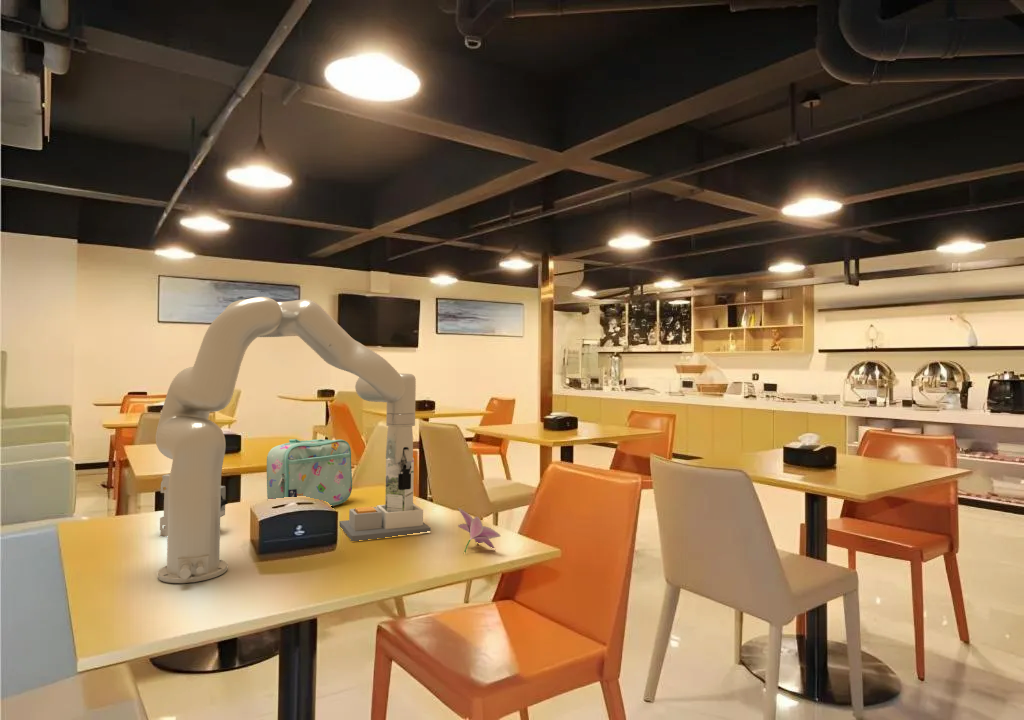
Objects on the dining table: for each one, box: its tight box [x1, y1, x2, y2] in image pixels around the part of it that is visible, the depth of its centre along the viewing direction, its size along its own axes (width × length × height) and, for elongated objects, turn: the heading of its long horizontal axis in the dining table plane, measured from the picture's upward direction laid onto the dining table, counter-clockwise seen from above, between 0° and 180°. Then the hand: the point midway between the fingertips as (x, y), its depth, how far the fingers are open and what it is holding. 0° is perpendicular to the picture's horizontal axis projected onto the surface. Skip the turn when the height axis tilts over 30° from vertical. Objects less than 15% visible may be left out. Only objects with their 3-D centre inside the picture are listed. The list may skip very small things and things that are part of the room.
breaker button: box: [354, 506, 376, 514], centre depth 159 cm, size 4×4×4 cm
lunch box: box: [266, 438, 353, 507], centre depth 184 cm, size 27×10×21 cm, turn 150°
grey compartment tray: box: [338, 502, 432, 542], centre depth 161 cm, size 16×20×6 cm
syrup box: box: [384, 457, 415, 512], centre depth 163 cm, size 6×6×14 cm
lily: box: [457, 507, 501, 553], centre depth 143 cm, size 12×12×10 cm
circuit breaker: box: [159, 473, 229, 537], centre depth 156 cm, size 8×14×15 cm, turn 89°
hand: (399, 486), depth 163 cm, fingers closed on syrup box, 8 cm apart
